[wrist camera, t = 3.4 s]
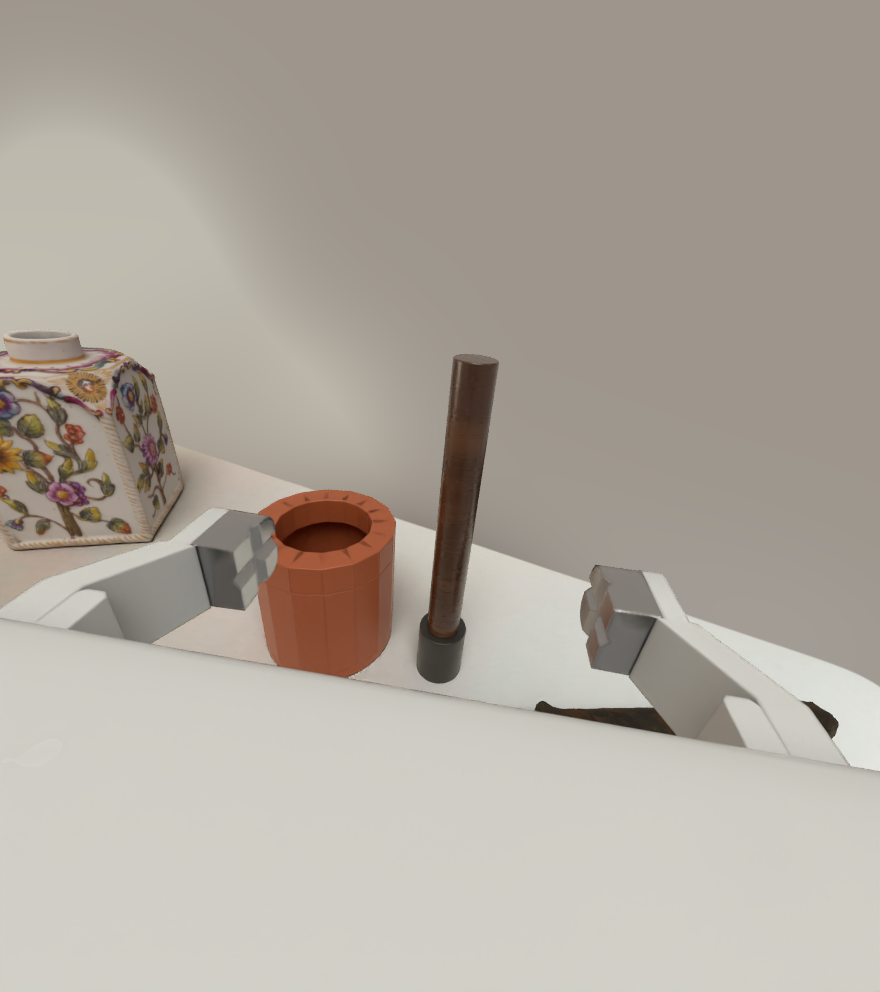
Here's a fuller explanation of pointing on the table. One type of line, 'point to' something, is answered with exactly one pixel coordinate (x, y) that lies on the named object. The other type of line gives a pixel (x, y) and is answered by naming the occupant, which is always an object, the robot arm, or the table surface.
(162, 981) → the robot arm
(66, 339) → the decorative jar
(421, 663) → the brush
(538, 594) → the table surface
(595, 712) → the hand tool
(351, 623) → the terracotta plant pot
